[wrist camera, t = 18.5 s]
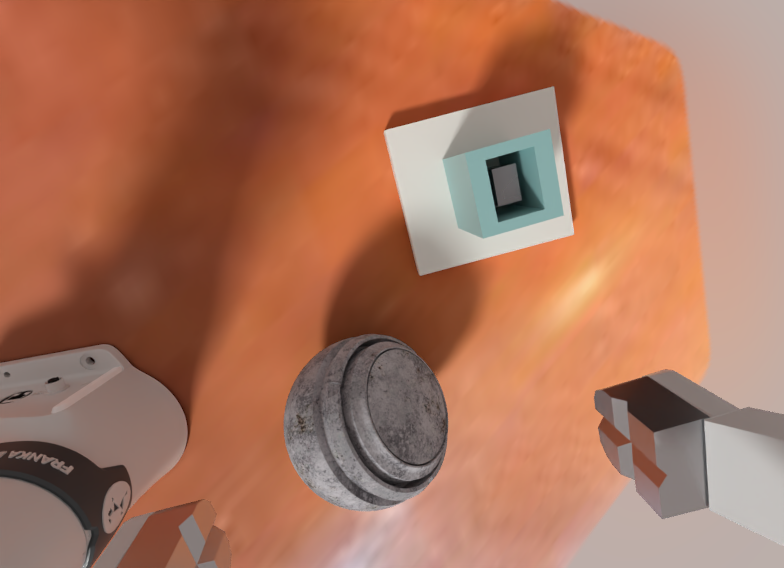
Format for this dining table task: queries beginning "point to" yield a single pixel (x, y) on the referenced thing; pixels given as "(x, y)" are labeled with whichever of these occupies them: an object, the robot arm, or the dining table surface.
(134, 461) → the robot arm
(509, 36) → the dining table surface
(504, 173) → the grey rectangular block
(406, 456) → the decorative orb
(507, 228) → the teal square hollow box
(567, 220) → the board
